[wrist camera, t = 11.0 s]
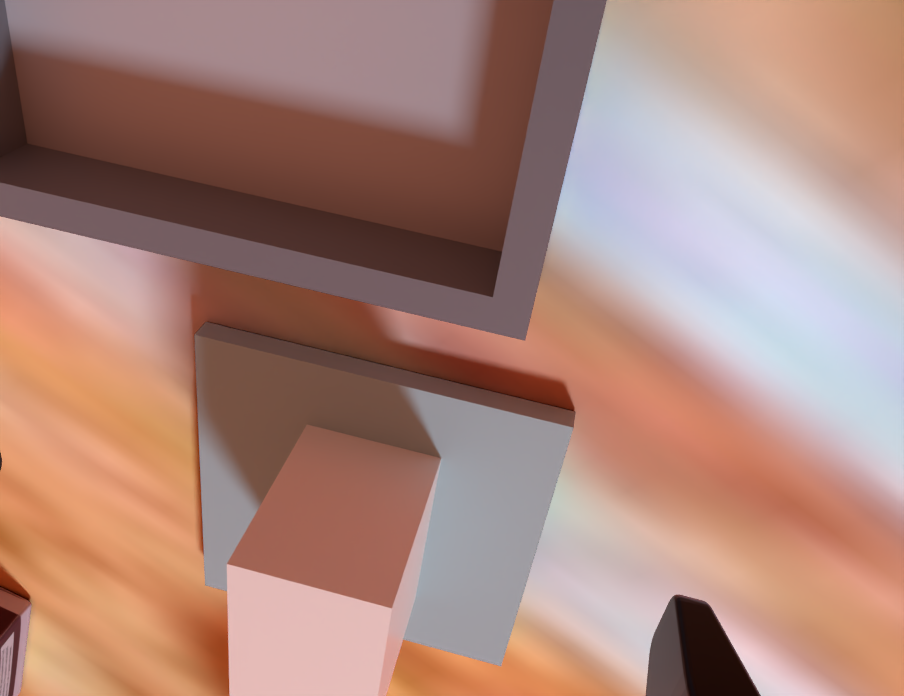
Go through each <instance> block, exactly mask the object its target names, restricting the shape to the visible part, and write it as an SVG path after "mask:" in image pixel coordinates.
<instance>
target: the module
mask: <svg viewBox="0 0 904 696" xmlns="http://www.w3.org/2000/svg"><path fill="white" fill-rule="evenodd" d="M440 463H441V458H439V457H435V456H431V455H427V454H423V453H419V452H415V451H411V450H407V449H403V448H399V447H395V446H391V445H387V444H383V443H379V442H375V441H371V440H367V439H363V438H359V437H355V436H351V435H347V434H343V433H339V432H335V431H331V430H327V429H323V428H319V427H315V426H311V425H306V427H305V429H304V430H303V432H302V434H301V436H300V437H299V439H298V441H297V443H296V444H295V446H294V448H293V450H292V451H291V453H290V455H289V457H288V458H287V460H286V462H285V463H284V465H283V467H282V469H281V470H280V472H279V474H278V476H277V477H276V479H275V481H274V483H273V484H272V486H271V488H270V490H269V491H268V493H267V495H266V496H265V498H264V500H263V502H262V503H261V505H260V507H259V509H258V510H257V512H256V514H255V516H254V517H253V519H252V521H251V523H250V524H249V526H248V528H247V530H246V531H245V533H244V535H243V536H242V538H241V540H240V542H239V543H238V545H237V547H236V549H235V550H234V552H233V554H232V556H231V557H230V559H229V561H228V563H227V601H228V648H229V696H386V694H387V691H388V687H389V684H390V681H391V677H392V674H393V671H394V668H395V664H396V661H397V658H398V654H399V651H400V648H401V644H402V641H403V638H404V634H405V631H406V628H407V625H408V621H409V618H410V615H411V611H412V608H413V605H414V601H415V598H416V592H417V587H418V582H419V576H420V571H421V565H422V560H423V555H424V549H425V544H426V538H427V533H428V528H429V522H430V517H431V511H432V506H433V501H434V495H435V490H436V484H437V479H438V474H439V468H440Z"/></svg>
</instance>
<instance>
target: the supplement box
mask: <svg viewBox="0 0 904 696" xmlns="http://www.w3.org/2000/svg"><path fill="white" fill-rule="evenodd" d="M30 612H31V602H30V601H28V600H26V599H24V598H22V597H20V596H18V595H16V594H14V593H12V592H10V591H8V590H6V589H3V588H1V587H0V696H18V695H19V693H20V691H21V684H22V676H23V667H24V660H25V651H26V644H27V636H28V629H29V621H30Z"/></svg>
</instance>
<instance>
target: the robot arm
mask: <svg viewBox="0 0 904 696" xmlns="http://www.w3.org/2000/svg"><path fill="white" fill-rule="evenodd" d="M1 466H2V458H1V453H0V470H1ZM646 696H761V695H760V694H759V692H758V690H757V688H756V687H755V685H754V683H753V681H752V679H751V678H750V676H749V674H748V672H747V670H746V669H745V667H744V665H743V663H742V661H741V660H740V658H739V656H738V654H737V653H736V651H735V649H734V647H733V645H732V644H731V642H730V640H729V638H728V636H727V635H726V633H725V631H724V629H723V628H722V626H721V624H720V622H719V620H718V619H717V617H716V615H715V613H714V611H713V610H712V608H711V607H710V605H709V604H708V603H706V602H705V601H702V600H698V599H694V598H691V597H687V596H683V595H675V596H673V597H672V598H671V599H670V601H669V603H668V605H667V607H666V610H665V612H664V614H663V616H662V618H661V620H660V622H659V625H658V627H657V629H656V631H655V633H654V636H653V639H652V643H651V648H650V655H649V665H648V676H647V687H646Z"/></svg>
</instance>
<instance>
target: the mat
mask: <svg viewBox="0 0 904 696" xmlns="http://www.w3.org/2000/svg"><path fill="white" fill-rule="evenodd" d="M194 339H195V362H196V385H197V408H198V431H199V454H200V477H201V500H202V523H203V546H204V569H205V585H206V586H210V587H214V588H217V589H221V590H225V591H227V563H228V561H229V559H230V557H231V556H232V554H233V552H234V550H235V549H236V547H237V545H238V543H239V542H240V540H241V538H242V536H243V535H244V533H245V531H246V530H247V528H248V526H249V524H250V523H251V521H252V519H253V517H254V516H255V514H256V512H257V510H258V509H259V507H260V505H261V503H262V502H263V500H264V498H265V496H266V495H267V493H268V491H269V490H270V488H271V486H272V484H273V483H274V481H275V479H276V477H277V476H278V474H279V472H280V470H281V469H282V467H283V465H284V463H285V462H286V460H287V458H288V457H289V455H290V453H291V451H292V450H293V448H294V446H295V444H296V443H297V441H298V439H299V437H300V436H301V434H302V432H303V430H304V429H305V427H306V425H311V426H315V427H319V428H323V429H327V430H331V431H335V432H339V433H343V434H347V435H351V436H355V437H359V438H363V439H367V440H371V441H375V442H379V443H383V444H387V445H391V446H395V447H399V448H403V449H407V450H411V451H415V452H419V453H423V454H427V455H431V456H435V457H439V458H441V463H440V468H439V474H438V479H437V484H436V490H435V495H434V501H433V506H432V511H431V517H430V522H429V528H428V533H427V538H426V544H425V549H424V555H423V560H422V565H421V571H420V576H419V582H418V587H417V592H416V598H415V601H414V605H413V608H412V611H411V615H410V618H409V621H408V625H407V628H406V631H405V634H404V638H403V639H404V640H407V641H411V642H414V643H418V644H422V645H425V646H429V647H433V648H436V649H440V650H444V651H447V652H451V653H455V654H458V655H462V656H466V657H469V658H473V659H477V660H480V661H484V662H488V663H491V664H495V665H499V666H501V665H502V661H503V658H504V655H505V651H506V648H507V645H508V641H509V638H510V635H511V632H512V628H513V625H514V622H515V618H516V615H517V612H518V609H519V605H520V602H521V599H522V595H523V592H524V589H525V586H526V582H527V579H528V576H529V572H530V569H531V566H532V562H533V559H534V556H535V553H536V549H537V546H538V543H539V539H540V536H541V533H542V530H543V526H544V523H545V520H546V516H547V513H548V510H549V507H550V503H551V500H552V497H553V493H554V490H555V487H556V483H557V480H558V477H559V474H560V470H561V467H562V464H563V460H564V457H565V454H566V451H567V447H568V444H569V441H570V437H571V434H572V431H573V427H574V419H575V411H570V410H566V409H562V408H558V407H554V406H550V405H546V404H542V403H538V402H534V401H529V400H525V399H521V398H517V397H513V396H509V395H505V394H501V393H497V392H492V391H488V390H484V389H480V388H476V387H472V386H468V385H464V384H460V383H455V382H451V381H447V380H443V379H439V378H435V377H431V376H427V375H423V374H418V373H414V372H410V371H406V370H402V369H398V368H394V367H390V366H386V365H381V364H377V363H373V362H369V361H365V360H361V359H357V358H353V357H349V356H345V355H340V354H336V353H332V352H328V351H324V350H320V349H316V348H312V347H308V346H303V345H299V344H295V343H291V342H287V341H283V340H279V339H275V338H271V337H266V336H262V335H258V334H254V333H250V332H246V331H242V330H238V329H234V328H229V327H225V326H221V325H217V324H213V323H209V322H205V323H204V325H203V326H202V327H201V328H200V329H199V330H198V331H197V332H196V333H195V335H194Z"/></svg>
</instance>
